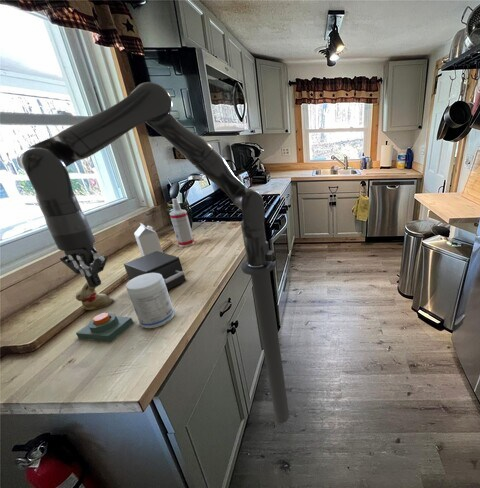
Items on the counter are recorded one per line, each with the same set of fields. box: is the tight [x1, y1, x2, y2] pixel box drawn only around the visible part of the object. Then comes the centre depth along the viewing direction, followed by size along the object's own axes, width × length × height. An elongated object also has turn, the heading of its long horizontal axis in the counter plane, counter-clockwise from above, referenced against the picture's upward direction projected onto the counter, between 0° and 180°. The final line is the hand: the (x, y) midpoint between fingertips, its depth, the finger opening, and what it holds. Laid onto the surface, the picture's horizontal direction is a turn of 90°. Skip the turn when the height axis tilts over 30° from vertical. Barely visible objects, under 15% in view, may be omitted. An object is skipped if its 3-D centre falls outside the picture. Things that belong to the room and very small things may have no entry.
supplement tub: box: [125, 273, 175, 329], centre depth 80 cm, size 10×10×15 cm
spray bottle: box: [169, 198, 195, 248], centre depth 135 cm, size 8×8×25 cm
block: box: [75, 312, 134, 343], centre depth 78 cm, size 11×8×4 cm
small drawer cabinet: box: [123, 251, 187, 291], centre depth 101 cm, size 15×13×11 cm
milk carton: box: [133, 222, 164, 257], centre depth 117 cm, size 7×7×19 cm
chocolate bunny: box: [75, 281, 114, 311], centre depth 89 cm, size 6×8×10 cm
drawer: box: [149, 260, 187, 291], centre depth 99 cm, size 18×11×9 cm, turn 62°
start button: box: [92, 312, 110, 325], centre depth 77 cm, size 4×4×2 cm
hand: (95, 285), depth 74 cm, fingers closed
